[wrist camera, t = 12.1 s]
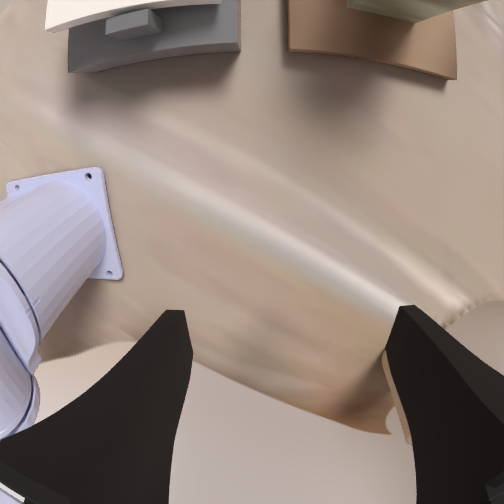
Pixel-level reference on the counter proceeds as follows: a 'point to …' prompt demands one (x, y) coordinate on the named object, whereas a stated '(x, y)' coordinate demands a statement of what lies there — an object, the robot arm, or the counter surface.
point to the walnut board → (373, 36)
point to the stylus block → (409, 7)
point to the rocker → (102, 10)
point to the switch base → (154, 35)
